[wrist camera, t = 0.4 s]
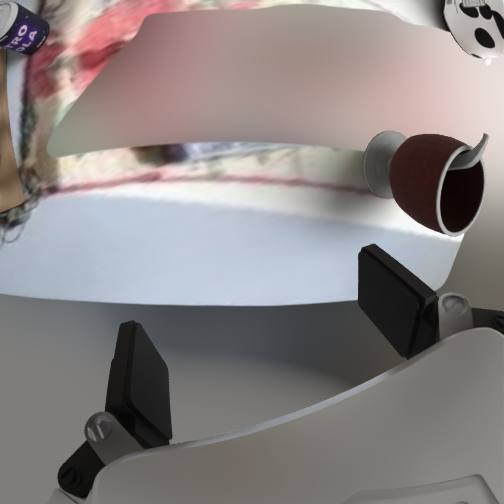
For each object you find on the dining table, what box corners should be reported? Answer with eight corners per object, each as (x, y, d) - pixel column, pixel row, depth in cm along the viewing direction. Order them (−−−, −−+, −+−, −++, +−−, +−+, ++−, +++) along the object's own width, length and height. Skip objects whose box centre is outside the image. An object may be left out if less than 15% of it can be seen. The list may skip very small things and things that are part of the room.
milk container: (483, 59, 36) (540, 65, 20) (450, 57, 35) (518, 60, 19) (463, -1, 27) (518, -5, 12) (424, -13, 27) (488, -26, 11)
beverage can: (16, 52, 20) (-28, 40, 10) (33, 20, 19) (-5, -1, 8) (39, 57, 23) (-3, 43, 12) (58, 23, 21) (22, -1, 10)
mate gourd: (411, 201, 48) (490, 244, 30) (355, 203, 45) (440, 255, 27) (419, 123, 41) (508, 143, 23) (361, 111, 38) (461, 123, 20)
